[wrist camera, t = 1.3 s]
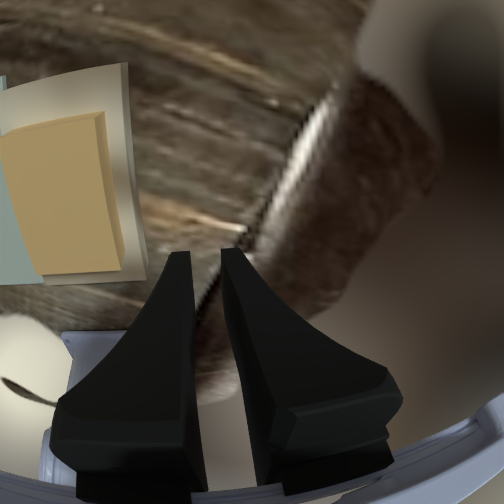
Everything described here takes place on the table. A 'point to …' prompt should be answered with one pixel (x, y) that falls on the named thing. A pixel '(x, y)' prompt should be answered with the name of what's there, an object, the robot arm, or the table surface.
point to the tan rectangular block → (64, 194)
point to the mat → (12, 237)
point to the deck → (119, 142)
